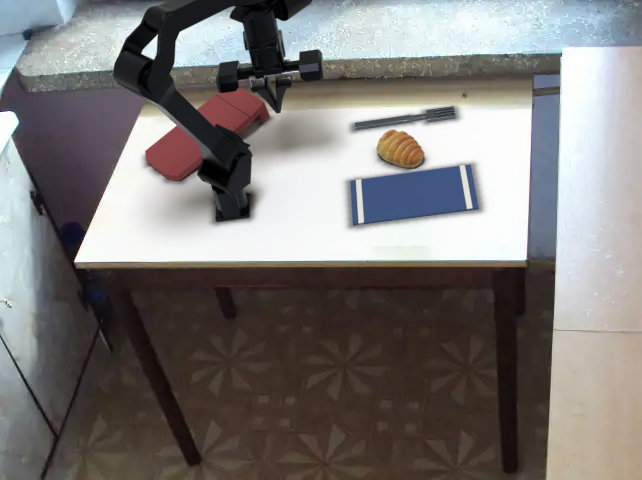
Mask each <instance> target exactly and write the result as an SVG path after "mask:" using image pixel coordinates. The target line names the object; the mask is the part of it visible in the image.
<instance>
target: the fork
mask: <svg viewBox="0 0 642 480" xmlns="http://www.w3.org/2000/svg"><path fill="white" fill-rule="evenodd" d="M456 117H457V116H456V111H455V106H454V105H451V106H444V107H443V106H442V107H436V108H431V109H426V110H425V113H419V114H412V115H411V114H406V115H400V116H393V117H385V118H379V119H370V120H365V121H357V122H354V130H356V131H357V130H366V129H372V128H377V127H378V128H379V127H385V126H392V125H399V124H405V123H412V122H415V121H421V120H426V121H427V123H430V122H431V123H432V122H439V121H444V120H445V121H446V120H452V119H456Z"/></svg>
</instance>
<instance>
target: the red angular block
mask: <svg viewBox="0 0 642 480" xmlns="http://www.w3.org/2000/svg"><path fill="white" fill-rule="evenodd" d="M196 109H197V110H198V111H199V112H200V113H201V114H202V115H203V116H204V117H205V118H206V119H207V120H208V121H209V122H210V123H211V124H212V125H213V126H214V127H215V125H216V123H217V124H219V125H221V126H223V127H225V128H227V129H229V130H231V131H233V132H236V133H238V134H239V133H241V132H242V131H243V130H244V129H246V128H247V127H248V126H249V125H251V124H252V123H253V122H254V121H255V120H256V119H257V120H258V121H260V122H261V123H264V122H266V121H267V120H268V119H270V118H271V115H270V112H269V110H268V108H267V105H266V103H265V101H263V100H262V99H260V98H259V97H257V96H256V95H254V94H252V93H251V92H248V91H247V90H246V89H244V88H242V87H239V88H238V89H237V90H236V91H234V92H227V93H220V92H218V93H216V94H214V95H213V96H211V98H209V99H208V100H206V101H205V102H203V104H201V105H200V106H199V107H198V108H196ZM144 154H145V161H146V162H147V164H148V165H149V166H150V167H151V168H153V169H154V170H155V171H157V172H158V173H159V174H161V176H163V177H165V179H167V180H169V181H182V180H183V179H184V178H186V177H187V176H188V175H190V174H191V173H193V171H194V170H196V169H197V168H198V167H200V165H201V162H202V159H203V157H202V155H201V154H200V151H199V146H198V144H197V143H196V142H195V141H193V140H192V139H191V138H190V137H189V136H188V135H187V134H186V133H185V132H183V131H182V130H181V129H180V128H179V127H178V126H177V125H176V126H174V127H173V128H172V129H170V130H169V131H168V132H167V133H165V134H164V135H163V136H162V137H160V139H158V140H156V141H155V142H154V143H153V144H152V145H151V146H149V147H148V148H147V149H145V151H144Z"/></svg>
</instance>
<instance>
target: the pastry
mask: <svg viewBox="0 0 642 480" xmlns="http://www.w3.org/2000/svg"><path fill="white" fill-rule="evenodd" d="M375 149H376V151H377V154H378V155H379V156H380V158H381V159H382V160H384V161H386V162H387V163H390V164H393V165H394V166H398V167H401V168H412V169H413V168H415V167H417V166H418V165H420V164H422V162H423V160H424V157H425V152H424V150H423V149H422V146H421V145H420V144H419V142H418V141H417V140H416V139H415V138H414V137H413V136H412V135H411V134H408V132H407V131H404V130H399V131H398V130H397V129H394V128H393V129H389V130H387V131H385V132H384V133H383V134H382V136H381V137H380V138H379V139H378V142H377V145H376V148H375Z"/></svg>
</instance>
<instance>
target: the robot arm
mask: <svg viewBox="0 0 642 480" xmlns="http://www.w3.org/2000/svg"><path fill="white" fill-rule="evenodd" d="M312 3H313V0H167V1H164V2H162V3H160V4H157V5H152V6H150V7H148V8H147V9H146V10H145V12H144V14H143V16H142V19H141V21H140V23H139V24H138V26H136V28H134V30H132V32H130V33H129V35H128V36H127V37H125V40H124V42H123V43H122V46H121V49H120V50H119V53H118V55H117V57H116V59H115V62H114V64H113V69H112V70H113V71H112V72H113V74H112V77H113V80H114V81H115V82H116V84H117V85H119V86H121V87H122V88H124V89H126V90H127V91H129V92H132V93H133V94H135V95H137V96H139V97H141V98H142V99H144V100H146V101H148V102H150V103H152V105H154V106H155V107H156V108H157V109H158V110H159V111H160V112H161V113H162V114H164V115H165V117H167V118H168V119H169V120H170V121H171V122H172V123H174V125H176V126H178V127H179V128H180V129H181V130H182V131H183V132H185V133H186V134H187V135H188V136H189V137H190V138H191V139H192V140H193V141H195V142H196V143H197V144H198V146H199V151H200V154H201V155H202V157H203V159H202V162H201V164H200V165H199V166H198V167H199V168H198V171H197V173H196V176H197V177H198V178H199V179H200V181H202V182H204V183H206V184H208V185H210V189H211V192H212V195H213V198H214V202H215V214H214V215H215V216H214V220H215V222H223V221H231V220H238V219H245V218H246V219H247V218H250V217H251V209H252V208H251V207H252V193H251V192H246V190H245V188H247V187H248V186H249V185H251V180H252V166H253V165H252V163H253V162H252V158H253V152H252V150H251V149H250V147H251V144H250V143H248V142H246V141H244V139H243V138H242V136H241V135H240V134H239V133H236V132H233V131H231V130H229V129H227V128H225V127H223V126H221V125H219V124H217V123H216V125H215V127H214V126H213V125H212V124H211V123H210V122H209V121H208V120H207V119H206V118H205V117H204V116H203V115H202V114H201V113H200V112H199V111H198V110H197V109H198V108H195V106H194V105H192V104H191V102H190V101H188V99H186V98H185V96H184V95H182V94H181V92H179V91H178V89H177V88H176V85H175V81H174V78H173V76H172V75H171V72H172V70H173V67H174V65H175V62H176V42H177V40H178V37H179V35H180V33H181V32H183V31H185V30H187V29H189V28H191V27H193V26H195V25H197V24H199V23H201V22H203V21H205V20H207V19H209V18H211V17H213V16H215V15H218V14H219V13H221V12H224V11H226V10H227V9H229V8H233V9H232V10H231V11H230V14H229V19H230V20H233V21H235V22H238V23H240V24H242V27H243V31H242V40H243V46H244V50H245V51H248V54H249V58H250V63H251V66H245V67H242V65H241V61H240V60H238V59H237V60H230V61H223V62H219V64H218V65H217V68H216V76H215V83H216V88H217V91H218V93H227V92H234V91H236V90H237V89H239V88H240V81H242V80H249V82H250V93H255V94H256V93H257V95H259V96H260V97H261V98H262V99H263V100H264V101H265V102H266V103H267V104H268V105H269V107H270V108H271V109H272V110H273V111H274V113H275V114H276V115H277V114H282V106H283V101H284V97H285V94H286V91H287V89H290V88H292V86H293V74H298V73H299V77H300V79H301V80H302V81H304V82H305V83H308V82H317V81H321V80H323V79H324V77H325V76H324V74H325V73H324V69H325V68H324V65H325V64H324V55H323V51H321V50H320V49H318V48H316V49H310V50H302V51H299V52H298V53H299V54H298V59H297V60H291V59H290V58H287V59H285V58H286V55H287V54H286V48H285V43H284V37H283V30H282V29H279V25H278V21H277V19H278V20H279V21H281V22H287V21H289V20H290V19H291V18H293V17H295V16H296V15H297V14H298V13H300V12H301V11H303V10H304V9H306V8H307V7H309V6H310V5H312ZM156 37H157V40H156V54H155V57H154V58H152V57H149V56H147V55H145V54H143V51H144V49H145V48H146V47H147V46H148V45H149V44H150V43H151V42H152V41H153V40H154V39H155V38H156ZM271 77H275V84H274V88H273V85H272V82H271ZM274 91H275V92H274Z"/></svg>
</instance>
